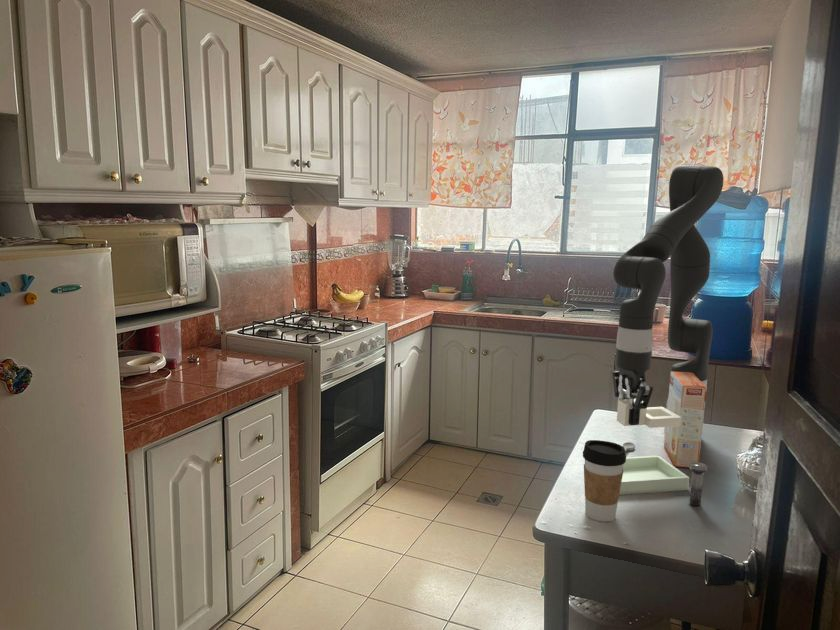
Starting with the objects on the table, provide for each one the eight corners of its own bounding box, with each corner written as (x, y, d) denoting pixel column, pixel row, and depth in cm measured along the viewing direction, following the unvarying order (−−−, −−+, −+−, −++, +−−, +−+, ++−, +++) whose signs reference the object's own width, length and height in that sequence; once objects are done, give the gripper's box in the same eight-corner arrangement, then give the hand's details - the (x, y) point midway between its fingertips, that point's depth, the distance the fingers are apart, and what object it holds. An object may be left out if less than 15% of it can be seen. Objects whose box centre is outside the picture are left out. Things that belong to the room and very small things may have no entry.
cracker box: (700, 469, 148) (708, 386, 145) (673, 467, 149) (680, 384, 146) (687, 448, 162) (694, 371, 158) (663, 446, 163) (669, 370, 159)
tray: (590, 471, 147) (590, 459, 146) (657, 467, 150) (658, 455, 149) (615, 495, 134) (616, 482, 134) (688, 490, 137) (689, 477, 137)
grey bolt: (683, 502, 132) (687, 462, 130) (697, 500, 132) (700, 461, 131) (692, 509, 128) (696, 468, 127) (706, 508, 129) (710, 467, 127)
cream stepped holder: (661, 414, 144) (663, 394, 143) (680, 425, 136) (682, 404, 135) (612, 417, 141) (613, 396, 140) (629, 429, 134) (630, 407, 133)
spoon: (636, 448, 162) (636, 441, 161) (622, 466, 152) (623, 459, 152) (625, 445, 164) (625, 438, 163) (611, 463, 154) (611, 456, 154)
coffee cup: (575, 504, 130) (579, 437, 127) (615, 505, 130) (620, 438, 127) (584, 524, 122) (588, 453, 119) (627, 525, 121) (632, 454, 119)
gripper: (667, 354, 129) (661, 431, 132) (633, 339, 143) (628, 410, 146) (635, 355, 128) (629, 433, 131) (603, 340, 141) (598, 412, 144)
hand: (628, 421), depth 138 cm, fingers closed on cream stepped holder, 3 cm apart
